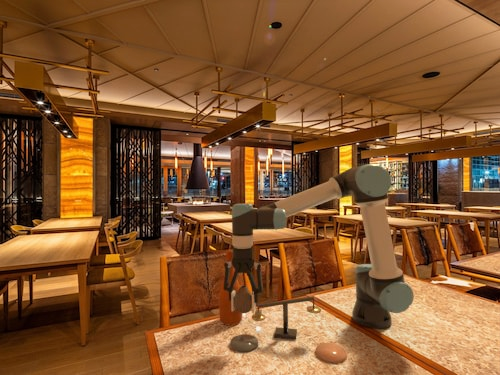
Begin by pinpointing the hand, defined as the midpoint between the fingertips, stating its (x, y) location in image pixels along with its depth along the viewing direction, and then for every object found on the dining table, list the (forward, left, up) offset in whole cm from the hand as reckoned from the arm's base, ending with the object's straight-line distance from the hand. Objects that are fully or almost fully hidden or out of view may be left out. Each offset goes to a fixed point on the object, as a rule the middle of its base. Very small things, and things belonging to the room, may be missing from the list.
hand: (243, 310), depth 100 cm
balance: (-14, -9, -12) cm, 21 cm away
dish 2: (-30, 0, -12) cm, 32 cm away
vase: (0, 0, 0) cm, 0 cm away
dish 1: (0, 0, -12) cm, 12 cm away
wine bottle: (+10, -17, -12) cm, 23 cm away
